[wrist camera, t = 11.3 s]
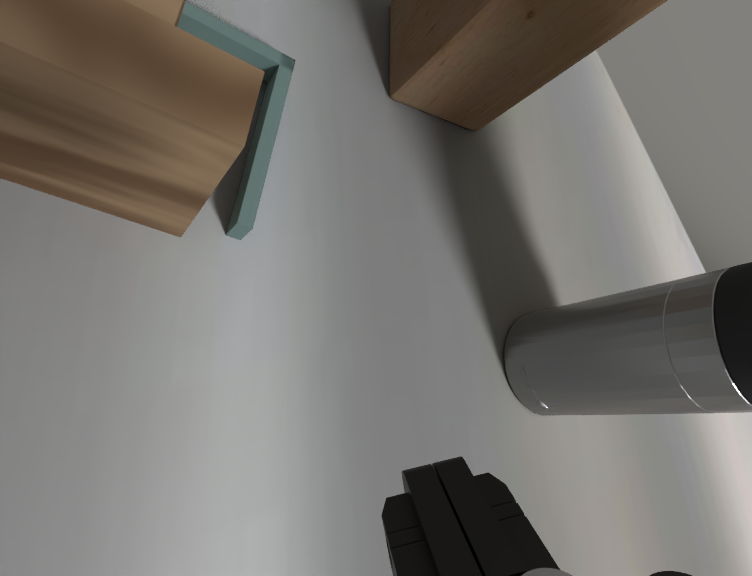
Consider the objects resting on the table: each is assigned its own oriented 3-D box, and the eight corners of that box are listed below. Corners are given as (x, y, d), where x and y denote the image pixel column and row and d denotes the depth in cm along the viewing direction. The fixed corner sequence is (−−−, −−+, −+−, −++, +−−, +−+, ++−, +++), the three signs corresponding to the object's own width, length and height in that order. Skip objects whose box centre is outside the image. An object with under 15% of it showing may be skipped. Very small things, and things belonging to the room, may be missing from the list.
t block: (180, 237, 33) (244, 146, 22) (-50, 161, 27) (-115, -8, 17) (225, 84, 37) (298, -56, 26) (31, -9, 31) (22, -234, 21)
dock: (240, 240, 35) (252, 228, 33) (-121, 113, 26) (-136, 86, 24) (282, 79, 39) (295, 60, 37) (-15, -74, 31) (-19, -110, 29)
